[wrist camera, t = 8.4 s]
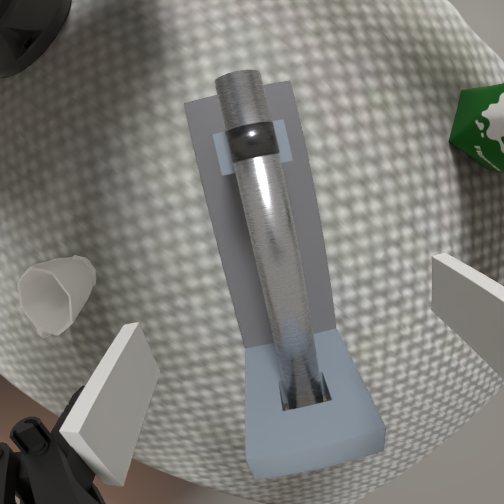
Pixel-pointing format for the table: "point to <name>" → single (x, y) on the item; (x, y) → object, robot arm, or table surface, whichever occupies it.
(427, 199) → the table surface
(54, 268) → the cup
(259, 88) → the shaft
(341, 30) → the table surface
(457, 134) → the milk carton
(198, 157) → the rig
